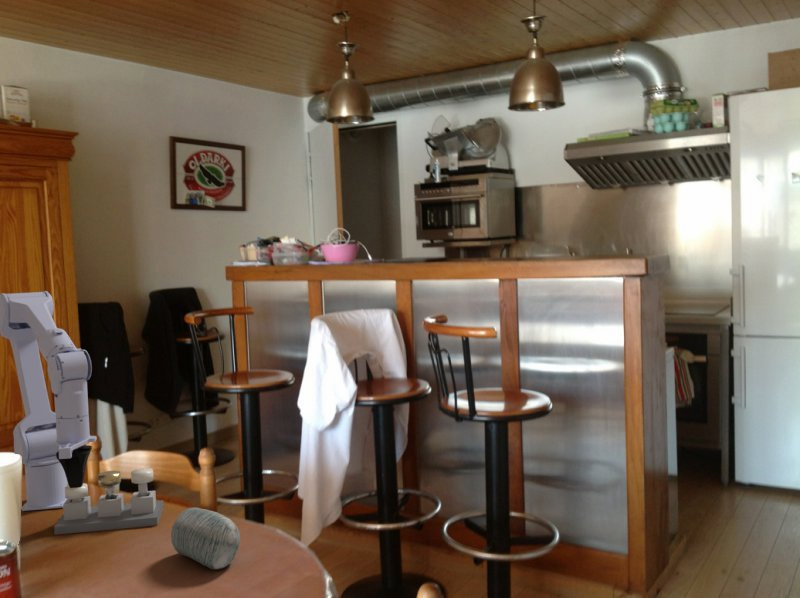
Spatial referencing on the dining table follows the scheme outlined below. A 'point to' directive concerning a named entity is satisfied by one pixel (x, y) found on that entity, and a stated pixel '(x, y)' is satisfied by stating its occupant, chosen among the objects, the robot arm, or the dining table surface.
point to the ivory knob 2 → (142, 479)
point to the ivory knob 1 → (76, 493)
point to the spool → (206, 537)
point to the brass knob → (109, 482)
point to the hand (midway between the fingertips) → (76, 486)
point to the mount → (109, 514)
